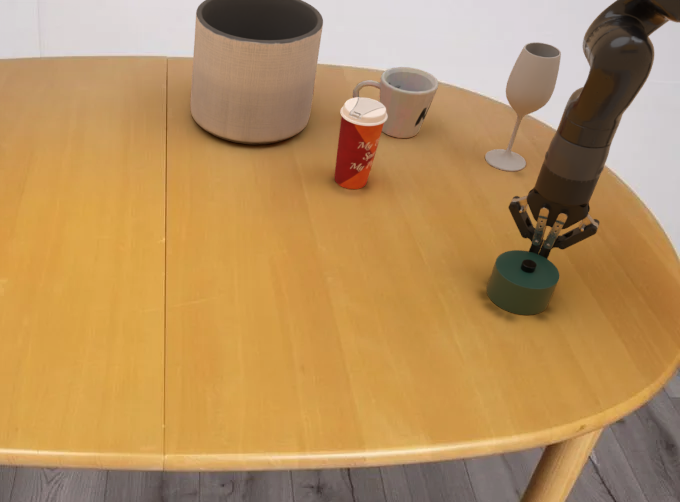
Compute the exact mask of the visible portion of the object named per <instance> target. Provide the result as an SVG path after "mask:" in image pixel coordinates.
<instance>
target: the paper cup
mask: <svg viewBox="0 0 680 502" xmlns="http://www.w3.org/2000/svg"><path fill="white" fill-rule="evenodd" d="M379 101H380V100H379ZM379 101H378V100H377V99H374V98H370V97H363V96H359V97H356V98H353V97H352V98H351V97H350V98H349V99H347V100H346V101H345V102H344V103H343V106H341V108H340V110H339V114H340V116H341V118H340V125H339V133H338V143H337V151H336V159H335V168H334V181H335V184H337V185H338V186H339V187H342V188H344V189H348V190H358V189H363V188H364V187H365V186H366V185H367V183H368V180H369V176H370V173H371V170H372V166H373V164H374V159H375V156H376V153H377V149H378V146H379V142H380V139H381V136H382V133H383V132H382V128H383V125H384V122H385V121H386V120H387V113H386V108H385V106H384V105H383V104H382V103H380V102H379Z"/></svg>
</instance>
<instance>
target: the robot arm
mask: <svg viewBox="0 0 680 502" xmlns="http://www.w3.org/2000/svg"><path fill="white" fill-rule="evenodd" d="M669 21H670V22H672V23H678V24H679V23H680V0H615V1H614V2H612V3H611V4H610V5H608V6H607V7H606V8H604V10H603V11H601V12H600V13H599V14H598V15H597V16H596V18H595V19H593V21H592V22H591V24H590V25H589V26H588V27H587V29H586V31H585V34H584V35H583V39H582V52H583V54H584V57H585V60H586V61H587V63H588V66H589V71H588V76H587V78H586V81H585V83H584V85H583V86H582V87H580V88H579V87H578V88H577V89H575V91H573V92H572V94H570V96H569V98H568V100H567V102H566V104H565V107H564V109H563V112H562V115H561V118H560V121H559V124H558V127H557V128H556V131H555V133H554V135H553V137H552V138H551V141H550V143H549V145H548V149H547V150H546V151H545V154H544V159H543V162H542V165H541V168H540V171H539V172H538V176H537V179H536V181H535V184H534V186H533V188H531V189H530V190H529V191H528V194H527V195H524V196H521V197H520V196H518V195H515V196H513V197H512V199H510V200H511V201H510V202H509V205H508V211H509V212H510V214H511V216H512V217H511V218H512V220H513V222H514V223H515V226H516V227H517V230H518V231H519V234H520V236H521V238H523V239H528V240H529V241H530V242H531V244H530V247H529V250H528V251H529V252H533V253H536V254H538V255H541V256H543V257H545V258H546V259H548V260H549V256H550V254H551V251H552V250H553V249H556V248H558V249H559V250H565V249H568V248H570V247H571V246H575V244H578V243H580V242H582V241H584V240H586V239H588V238H590V237H592V236H595V235H596V234H597V232H598V229H599V226H600V224H601V223H600V220H599V219H597V218H593V217H592V216H591V214H590V209H591V207H590V201H591V198H592V196H593V194H594V192H595V189H596V187H597V184H598V181H599V179H600V177H601V174H602V173H603V172H604V168H605V165H606V163H607V160H608V158H609V154H610V149H611V146H612V143H613V140H614V138H615V136H616V133H617V130H618V128H619V125H620V123H621V122H622V121H621V120H622V118H623V115H624V113H625V112H626V111H627V110H628V108H629V107H630V106H631V104H632V103H633V101H635V99H636V97H637V96H638V94H639V93H640V91H641V90H642V88H643V87H644V85H645V84H646V82H647V81H648V78H649V76H650V74H651V71H652V69H653V65H654V60H655V47H654V43H653V42H652V39H651V38H650V36H651V35H652V34H653V33H654V32H656V31H657V30H658V29H660V28H661V27H663V26H664V25H665V24H667V23H668V22H669ZM528 208H529V210H530V213H531V216H532V217H533V219H534V221H535V222H536V224H535V226H534V224H533V222H532V220H531V218H530V215H529V214H528V212H527V210H528ZM577 223H579V224H578V226H577V227H574V228H572V229H571V230H569V231H566V232H564V233H562V234H561V235H560V233H561V231H562V230H566V229H568V228H570V227H572V226H574V225H576V224H577ZM547 227H550V229H549V232H548V234H547V236H546V238H545V239H544V237H545V234H546V230H547Z"/></svg>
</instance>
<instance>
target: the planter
mask: <svg viewBox="0 0 680 502" xmlns="http://www.w3.org/2000/svg"><path fill="white" fill-rule="evenodd" d="M194 26H195V28H194V42H193V44H194V45H193V58H192V72H191V85H190V87H191V88H190V99H189V100H190V104H189V105H190V114H191V117H192V119H193V120H194V122H195V123H196V124H197V125H198V126H199V127H200V128H201V129H202V130H204V131H206V132H207V133H208V134H211V135H213V136H214V137H217V138H219V139H221V140H224V141H228V142H232V143H236V144H242V145H270V144H274V143H278V142H283V141H287V140H288V139H291V138H293V137H295V136H296V135H298V134H300V133H301V132H303V130H305V128H306V127H307V126H308V123H309V121H310V117H311V112H312V106H313V99H314V92H315V82H316V76H317V68H318V61H319V54H320V53H319V52H320V47H321V40H322V35H323V34H322V33H323V27H324V18H323V16H322V14H321V13H320V11H319V10H318V9H317V8H316V7H314V6H313V5H311V4H309V3H308V2H306V1H304V0H204V1H202V2H201V3H200V4H198V7H197V8H196V12H195V25H194Z"/></svg>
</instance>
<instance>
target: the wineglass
mask: <svg viewBox="0 0 680 502" xmlns="http://www.w3.org/2000/svg"><path fill="white" fill-rule="evenodd" d="M561 57H562V52H561V50H560V49H559V48H557V47H556V46H554V45H552V44H549V43H544V42H535V41H533V42H528V43H526V44H525V45H523V48H522V49H521V51H520V53H519V54H518V57H517V58H516V61H515V62H514V64H513V66H512V69H511V71H510V73H509V76H508V78H507V82H506V86H505V97H506V99H507V102H508V104H509V106H510V107H511V109H512V111H514V112H515V113H516V120H515V124H514V126H513V127H514V128H513V130H512V133H511V136H510V138H509V141H508V144H507V148H506V149H503V148H496V149H495V148H494V149H491V150H489V151H486V153H485V156H484V159H485V161H486V163H487V164H488V165H490V167H492V168H495V169H497V170H500V171H502V172H503V171H504V172H511V173H512V172H514V173H515V172H520V171H522V170H524V169H525V167H526V166H527V162H526V161H527V160H526V159H525V158H524V157H523V156H522V155H521V154H519V153H517V152H515V151H513V150H512V149H513V146H514V143H515V139H516V138H517V134H518V131H519V129H520V128H519V127H520V125H521V122H522V120H523V118H524V117H526V116H527V115H530V114H533V113H535V112H537V111H539V110H540V109H542V108H543V107H545V106H546V105H547V104H548V103H549V102H550V100H551V98H552V96H553V93H554V91H555V88H556V84H557V79H558V75H559V70H560V65H561Z"/></svg>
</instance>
